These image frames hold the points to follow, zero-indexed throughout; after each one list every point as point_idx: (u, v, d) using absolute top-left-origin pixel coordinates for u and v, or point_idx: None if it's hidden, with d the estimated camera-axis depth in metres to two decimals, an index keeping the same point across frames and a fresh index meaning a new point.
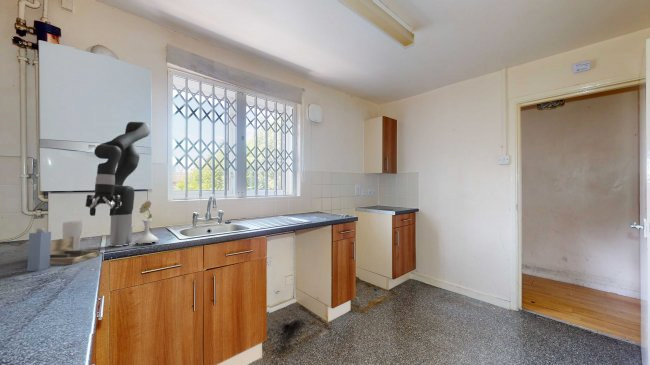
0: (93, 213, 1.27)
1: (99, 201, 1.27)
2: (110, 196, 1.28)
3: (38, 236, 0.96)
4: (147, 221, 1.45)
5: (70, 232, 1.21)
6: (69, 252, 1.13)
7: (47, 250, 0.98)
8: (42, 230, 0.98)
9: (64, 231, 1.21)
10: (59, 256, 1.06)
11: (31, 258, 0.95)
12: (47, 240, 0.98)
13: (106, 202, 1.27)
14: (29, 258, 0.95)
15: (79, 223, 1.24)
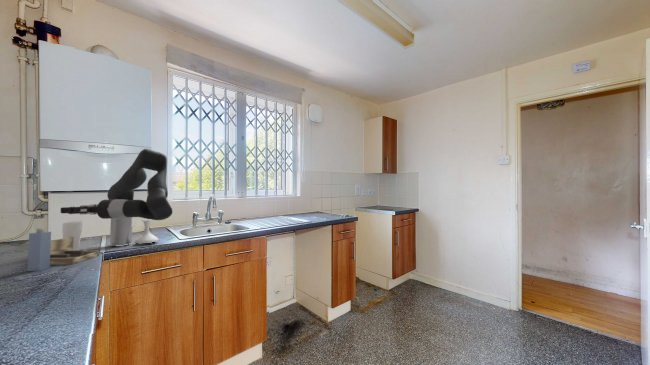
0: None
1: None
2: None
3: (38, 236, 0.96)
4: (147, 221, 1.45)
5: (70, 232, 1.21)
6: (69, 252, 1.13)
7: (47, 250, 0.98)
8: (42, 230, 0.98)
9: (64, 231, 1.21)
10: (59, 256, 1.06)
11: (31, 258, 0.95)
12: (47, 240, 0.98)
13: None
14: (29, 258, 0.95)
15: (79, 223, 1.24)
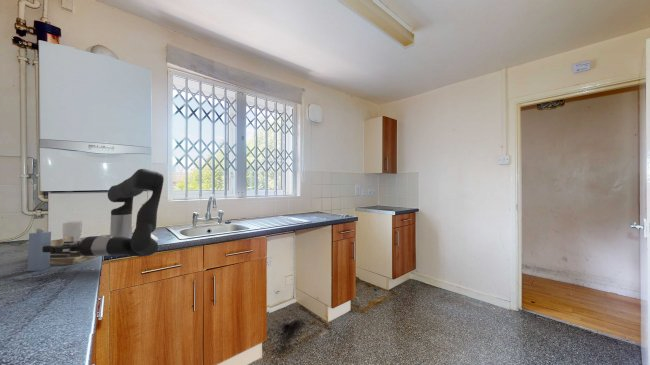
0: None
1: None
2: None
3: (38, 236, 0.96)
4: None
5: (70, 232, 1.21)
6: None
7: None
8: (42, 230, 0.98)
9: (64, 231, 1.21)
10: (59, 256, 1.06)
11: (31, 258, 0.95)
12: (47, 240, 0.98)
13: None
14: (29, 258, 0.95)
15: (79, 223, 1.24)
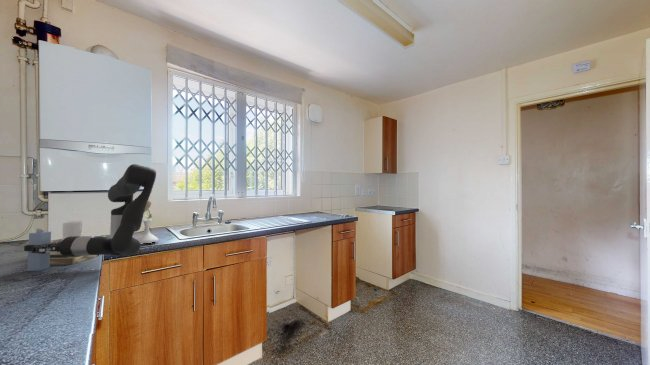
0: None
1: None
2: None
3: (38, 236, 0.96)
4: (147, 221, 1.45)
5: (70, 232, 1.21)
6: None
7: None
8: (42, 230, 0.98)
9: (64, 231, 1.21)
10: (59, 256, 1.06)
11: (31, 258, 0.95)
12: (47, 240, 0.98)
13: None
14: (29, 258, 0.95)
15: (79, 223, 1.24)
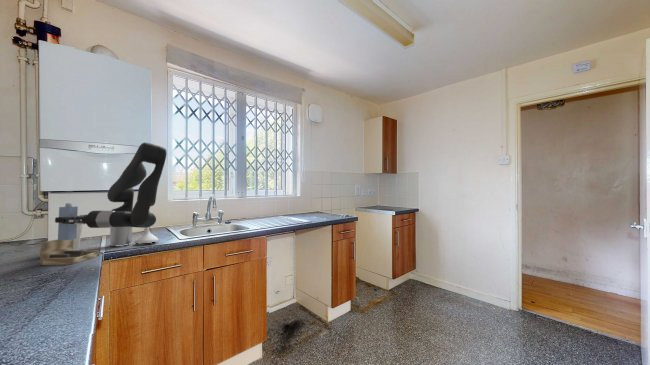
0: None
1: None
2: None
3: (67, 209, 1.08)
4: None
5: None
6: (69, 252, 1.13)
7: None
8: (70, 204, 1.10)
9: None
10: (59, 256, 1.06)
11: (61, 229, 1.08)
12: (74, 214, 1.11)
13: None
14: (59, 228, 1.08)
15: None
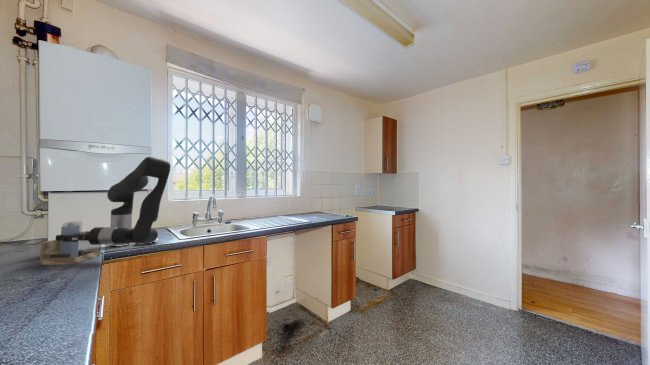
0: None
1: None
2: None
3: (69, 229, 1.09)
4: None
5: None
6: None
7: None
8: (72, 224, 1.11)
9: None
10: (59, 256, 1.06)
11: (63, 248, 1.08)
12: None
13: None
14: (61, 248, 1.08)
15: (79, 223, 1.24)
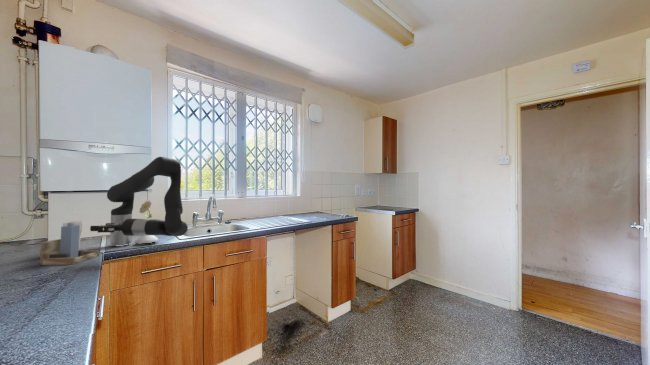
0: None
1: None
2: None
3: (69, 229, 1.09)
4: None
5: None
6: None
7: (76, 241, 1.11)
8: (72, 224, 1.11)
9: None
10: (59, 256, 1.06)
11: (63, 248, 1.08)
12: (76, 233, 1.11)
13: None
14: (61, 248, 1.08)
15: (79, 223, 1.24)
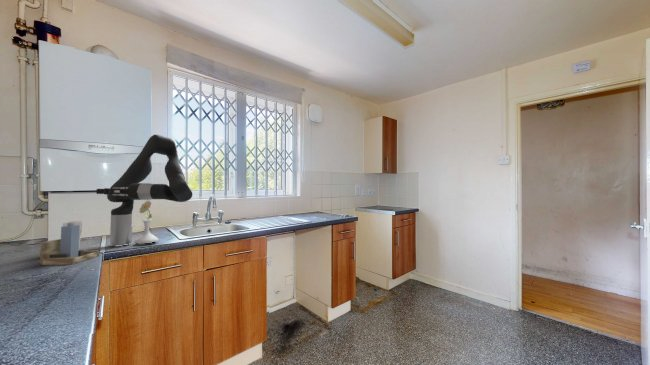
0: None
1: (120, 193, 1.12)
2: None
3: (69, 229, 1.09)
4: (147, 221, 1.45)
5: None
6: None
7: (76, 241, 1.11)
8: (72, 224, 1.11)
9: None
10: (59, 256, 1.06)
11: (63, 248, 1.08)
12: (76, 233, 1.11)
13: None
14: (61, 248, 1.08)
15: (79, 223, 1.24)
